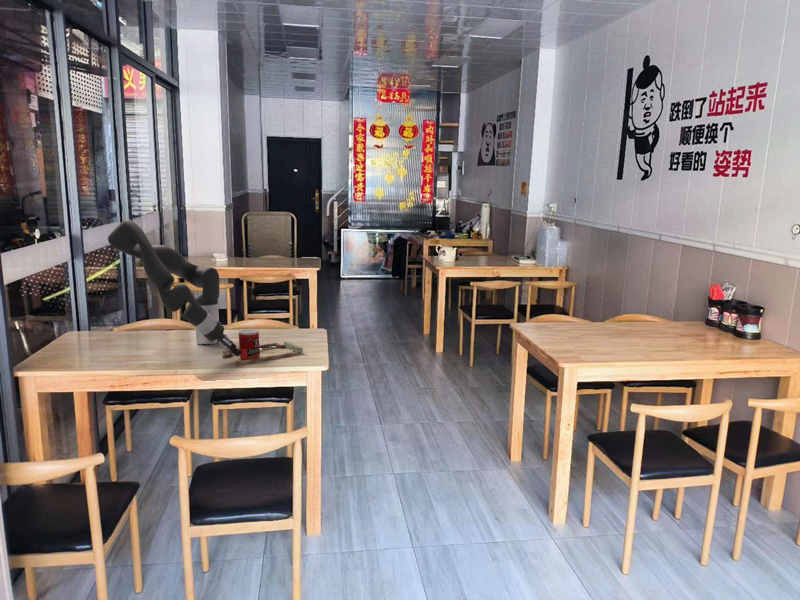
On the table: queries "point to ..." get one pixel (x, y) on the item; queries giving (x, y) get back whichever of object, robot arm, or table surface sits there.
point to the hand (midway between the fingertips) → (239, 354)
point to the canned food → (249, 344)
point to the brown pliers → (265, 347)
